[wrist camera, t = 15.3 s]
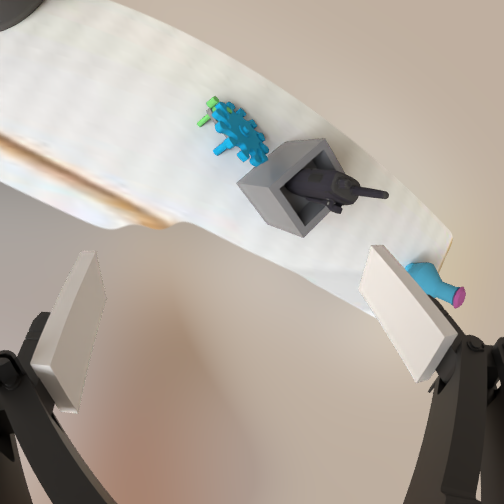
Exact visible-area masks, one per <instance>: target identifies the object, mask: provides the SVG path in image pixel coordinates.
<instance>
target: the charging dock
mask: <svg viewBox="0 0 504 504" xmlns="http://www.w3.org/2000/svg"><path fill="white" fill-rule="evenodd" d="M307 168H310V169H321V170H336V171H339V172H342V173H344V174H345V172H344V171H343V169H342V167H341V165H340V164H339V162H338V160H337V158H336V157H335V155H334V153H333V151H332V150H331V148H330V146H329V145H328V143H327V141H326V140H325V138H324V139H312V140H301V141H291V142H285V143H283V144H282V145H281V146H280V147H278V148H277V149H276V150H275V151H274V152H272V153H271V154H270V155H269V156H268V161H266V162H264V163H263V164H260V165H259V166H257V167H255V168H253V169H252V170H251V171H250V172H249V173H248V174H246V175H245V176H244V177H243V178H242V179H241V180H239V181H238V182H237V183H236V184H237V185H238V186H239V188H240V189H241V190H242V191H243V193H244V194H245V195H246V197H247V198H248V199H249V201H250V202H251V203H252V205H253V206H254V207H255V209H256V210H257V211H258V213H259V214H260V215H261V217H262V218H263V219H264V221H265V222H266V223H267V224H268V225H271V226H273V227H276V228H279V229H281V230H284V231H287V232H289V233H292V234H295V235H297V236H300V237H302V238H304V237H305V236H306V235H307V234H308V233H309V232H310V231H311V230H312V229H313V228H314V227H315V226H316V225H317V224H318V223H319V222H320V221H321V220H322V219H323V218H324V217H325V216H326V215H327V214H328V213H329V212H330V210H329V209H328V207H327V206H325V205H322V204H317V203H313V202H310V201H308V200H306V199H305V198H304V197H301V196H298V195H295V194H293V193H291V192H290V191H288V190H287V188H286V187H285V183H286V182H287V181H289V180H290V179H291V178H292V177H293V176H294V175H295V174H296V173H298V172H299V171H300V170H301V169H307ZM334 204H336V203H334Z"/></svg>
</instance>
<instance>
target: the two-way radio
mask: <svg viewBox="0 0 504 504" xmlns="http://www.w3.org/2000/svg"><path fill="white" fill-rule="evenodd" d="M285 187H286V188H287V190H288V191H290V192H291V193H293V194H295V195H298V196H301V197H304V198H305V199H306V200H308V201H310V202H313V203H317V204H322V205H325V206H327V207H328V209H329V210H330V211H332V212H335V213H339V214H341V212H342V208H341V207H342V205H351V204H354V202H355V201H356V200H357V199H358V196H365V197H373V198H381V199H387V198H388V197H389V194H388V193H387V192H386V191H381V190H376V189H371V188H364V187H360V184H359V182H358V181H356V180H355V179H353V178H352V177H350V176H348V175H346V174H344V173H342V172H339V171H336V170H321V169H310V168H307V169H301V170H300V171H299V172H298V173H296V174H295V175H294V176H293V177H292V178H291V179H290V180H289V181H287V182H286V183H285ZM334 203H336V204H334Z"/></svg>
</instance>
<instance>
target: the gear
mask: <svg viewBox="0 0 504 504" xmlns="http://www.w3.org/2000/svg"><path fill="white" fill-rule="evenodd" d="M217 103H218V104H217ZM206 104H207V106H208V107H209V109H208V110H207V115H206V116H205V117H203V118H202V119H201V120H200V121H199V122H198V123H197V125H198V126H199V127H201V126H202V125H203V124H204V123H206V122H207V121H208V120H209V119H210V118H211V119H212V120H213V122H214V123H215V129H216V131H217V132H218V133H223V134H224V135H225V136H226V138H227V139H225V140H224V142H223V143H221V144H220V145H219V146H218V147H216V148H215V149H214V150H213V152H214V154H215V155H217V156H218V155H219V154H221V153H222V152H223V151H225V150H226V149H227V148H228V149H231V148H233V147H234V146H238V147H239V148H240V149H241V151H240V152H239V153H237V156H238V157H239V158H240V159H241V160H242V161H243V162H244V161H246V160H247V159H249V158H250V156H249V154H250V155H251V159H250V163H251V165H253V166H255V167H257V166H259V165H260V164H263V163H264V162H266V161H268V157H267V156H266V155H265V154H267V153H268V152H269V148H268V147H267V146H266V145H264V144H263V143H262V142H263V141H265V137H264V135H263V134H262V133H259V132H257V131H255V130H254V128H256V127H257V125H256V123H255V121H254V120H253V119H251V120H250V121H246V120H245V119H244V118H243V117H244V116H246V113H245V112H244V110H243V109H241V108H240V109H239V110H237V111H236V113H235V112H234V109H235V106H234V104H232V103H231V102H227V103H226V104H225V103H223V102H219V99H218V98H217V97H215V96H214V97H212V98H211V99H210V100H209V101H208V102H207V103H206ZM216 104H217V105H216Z"/></svg>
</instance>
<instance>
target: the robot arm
mask: <svg viewBox="0 0 504 504" xmlns="http://www.w3.org/2000/svg"><path fill="white" fill-rule="evenodd" d="M42 2H43V0H0V31H3V30H5V29H8V28H10V27H12V26H14V25H15V24H17V23H19V22H20V21H22V20H23V19H24V18H26V17H27V16H28V15H30V14H31V13H32V12H33V11H34V10H35V9H36V8H37V7H38V6H39V5H40V4H41V3H42ZM358 290H359V291H360V293H361V294H362V296H363V297H364V299H365V301H366V302H367V304H368V305H369V307H370V308H371V310H372V311H373V313H374V315H375V316H376V318H377V319H378V321H379V322H380V324H381V326H382V327H383V329H384V331H385V332H386V334H387V335H388V337H389V339H390V340H391V342H392V344H393V345H394V347H395V349H396V350H397V352H398V354H399V355H400V357H401V359H402V360H403V362H404V363H405V365H406V367H407V369H408V370H409V372H410V374H411V376H412V377H413V379H414V381H415V382H416V383H419V382H422V381H425V380H429V379H430V377H431V376H432V374H433V373H434V372H435V370H436V371H437V373H438V375H439V376H438V377H437V379H436V380H435V381H434V383H433V384H432V386H431V387H430V389H429V391H428V392H429V393H430V392H431V391H432V389H433V388H434V392H433V398H432V403H431V408H430V413H429V418H428V422H427V426H426V430H425V434H424V438H423V442H422V446H421V450H420V453H419V457H418V460H417V464H416V467H415V470H414V473H413V476H412V479H411V483H410V485H409V488H408V491H407V494H406V497H405V500H404V503H403V504H504V337H501V338H499V339H498V340H497V342H496V343H495V345H494V346H492V345H485V344H484V343H483V341H481V340H480V339H479V338H477V337H475V336H473V335H465V334H464V333H463V331H462V330H461V329H460V327H459V326H458V325H457V324H456V322H455V321H454V320H453V319H452V318H451V316H450V315H449V314H448V313H447V311H446V310H444V308H443V307H442V305H441V304H440V303H439V302H438V301H437V300H436V299H435V298H433V297H432V296H431V295H429V294H428V295H427V294H426V293H425V292H424V291H423V290H422V288H421V287H420V286H419V285H418V284H417V282H416V281H415V280H414V279H413V278H412V277H411V276H410V274H409V273H408V272H407V271H406V270H405V269H404V268H403V266H402V265H401V264H400V263H399V262H398V261H397V260H396V259H395V257H394V256H393V255H392V254H391V253H390V252H389V251H388V250H387V249H386V248H385V246H384V245H371V247H370V251H369V255H368V258H367V262H366V265H365V268H364V272H363V275H362V279H361V282H360V285H359V288H358ZM106 300H107V297H106V294H105V289H104V285H103V280H102V276H101V271H100V267H99V262H98V257H97V252H96V251H81V253H80V254H79V256H78V258H77V260H76V262H75V264H74V266H73V268H72V270H71V271H70V273H69V275H68V278H67V279H66V281H65V283H64V285H63V288H62V290H61V292H60V294H59V296H58V298H57V300H56V302H55V304H54V307H53V309H52V311H51V312H41V313H40V314H39V315H38V316H37V317H36V318H35V319H34V320H33V322H32V324H31V327H30V329H29V332H28V333H27V335H26V340H24V342H23V345H22V347H21V349H20V352H19V354H18V356H17V357H16V355H15V354H14V353H13V352H11V351H9V350H3V351H0V504H33V503H32V499H31V496H30V493H29V490H28V487H27V483H26V480H25V476H24V473H23V469H22V465H21V461H20V457H19V453H18V448H17V443H16V439H15V435H16V437H17V439H18V441H19V443H20V446H21V448H22V450H23V452H24V454H25V456H26V457H27V460H28V462H29V463H30V465H31V467H32V469H33V471H34V473H35V474H36V476H37V478H38V480H39V482H40V483H41V485H42V487H43V488H44V490H45V492H46V493H47V495H48V497H49V498H50V500H51V501H52V503H53V504H117V503H116V502H115V501H114V499H113V498H112V497H111V496H110V495H109V493H108V492H107V491H106V490H105V488H104V487H103V486H102V485H101V483H100V482H99V481H98V479H97V478H96V477H95V476H94V474H93V473H92V471H91V470H90V469H89V467H88V466H87V464H86V463H85V462H84V460H83V459H82V457H81V456H80V454H79V453H78V451H77V450H76V448H75V447H74V445H73V444H72V442H71V441H70V439H69V438H68V436H67V434H66V433H65V431H64V430H63V428H62V427H61V425H60V423H59V421H58V420H57V418H56V416H55V415H54V413H53V408H54V404H56V406H57V407H58V409H59V410H60V411H61V412H68V413H77V414H78V413H79V408H80V403H81V398H82V393H83V388H84V384H85V379H86V375H87V370H88V366H89V362H90V358H91V354H92V349H93V346H94V342H95V338H96V335H97V331H98V327H99V324H100V320H101V317H102V313H103V310H104V306H105V303H106ZM499 380H500V382H501V386H500V387H499V388H498V389H497V386H496V384H497V382H498V381H499ZM480 472H481V502H480V501H478V500H476V490H477V485H478V480H479V474H480Z"/></svg>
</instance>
